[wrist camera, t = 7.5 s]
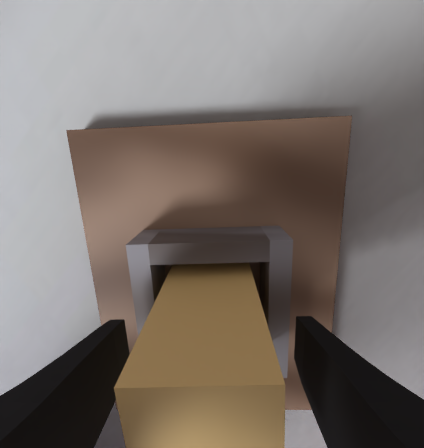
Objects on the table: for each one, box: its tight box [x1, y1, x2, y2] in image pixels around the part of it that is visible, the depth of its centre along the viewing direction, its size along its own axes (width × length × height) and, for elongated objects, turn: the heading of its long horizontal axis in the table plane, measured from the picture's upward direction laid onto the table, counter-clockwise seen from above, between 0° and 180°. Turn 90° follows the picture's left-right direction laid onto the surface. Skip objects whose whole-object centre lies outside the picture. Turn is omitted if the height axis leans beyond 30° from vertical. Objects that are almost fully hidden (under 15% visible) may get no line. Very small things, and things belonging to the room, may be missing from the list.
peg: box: [114, 262, 285, 448], centre depth 10 cm, size 4×4×8 cm
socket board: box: [66, 116, 352, 410], centre depth 13 cm, size 18×14×4 cm
